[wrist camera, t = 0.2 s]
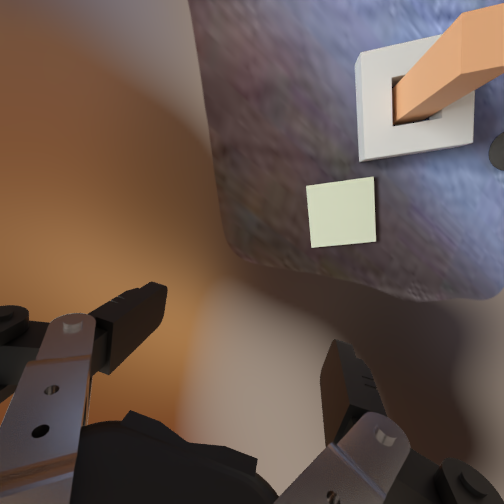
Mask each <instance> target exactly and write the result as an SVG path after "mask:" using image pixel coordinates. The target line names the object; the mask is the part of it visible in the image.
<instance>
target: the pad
mask: <svg viewBox="0 0 504 504" xmlns="http://www.w3.org/2000/svg"><path fill="white" fill-rule="evenodd" d="M306 190H307V201H308V213H309V224H310V235H311V247H312V248H313V247H324V246H334V245H345V244H355V243H366V242H376V227H375V200H374V177H368V178H361V179H354V180H346V181H339V182H332V183H325V184H318V185H311V186H306Z"/></svg>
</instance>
